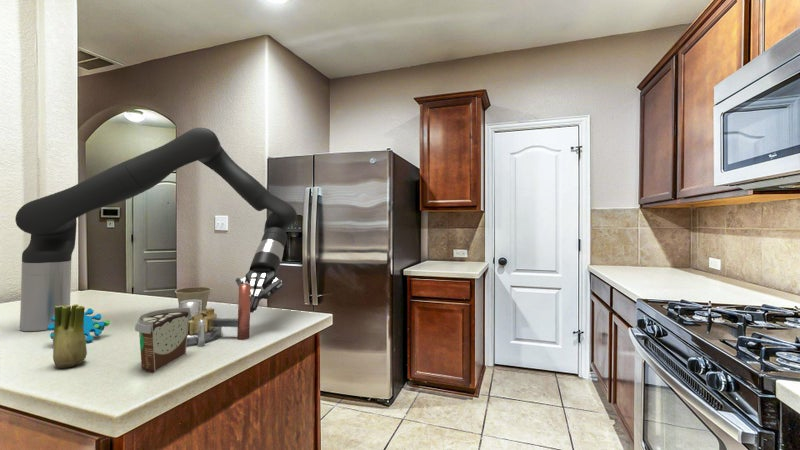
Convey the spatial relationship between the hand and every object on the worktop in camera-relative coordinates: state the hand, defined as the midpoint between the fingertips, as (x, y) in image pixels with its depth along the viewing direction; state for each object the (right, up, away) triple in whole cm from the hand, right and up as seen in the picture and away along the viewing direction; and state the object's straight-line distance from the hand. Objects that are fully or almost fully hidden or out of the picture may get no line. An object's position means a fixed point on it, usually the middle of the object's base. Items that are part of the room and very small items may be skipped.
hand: (249, 311), depth 91 cm
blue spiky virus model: (-37, -5, -8) cm, 38 cm away
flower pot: (-23, -6, +14) cm, 27 cm away
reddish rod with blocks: (-9, -6, -3) cm, 11 cm away
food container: (-11, -6, -18) cm, 22 cm away
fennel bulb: (-27, -6, -21) cm, 34 cm away
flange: (-14, -6, -3) cm, 15 cm away
